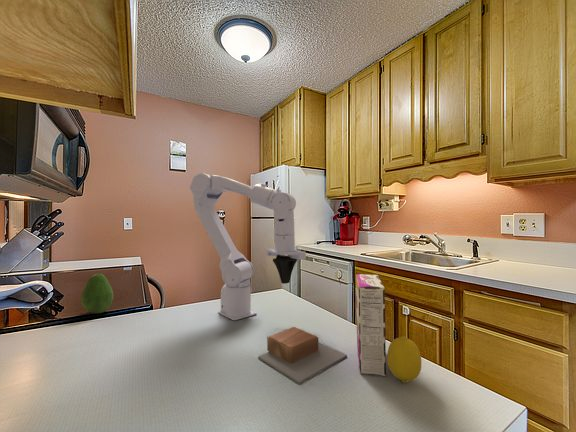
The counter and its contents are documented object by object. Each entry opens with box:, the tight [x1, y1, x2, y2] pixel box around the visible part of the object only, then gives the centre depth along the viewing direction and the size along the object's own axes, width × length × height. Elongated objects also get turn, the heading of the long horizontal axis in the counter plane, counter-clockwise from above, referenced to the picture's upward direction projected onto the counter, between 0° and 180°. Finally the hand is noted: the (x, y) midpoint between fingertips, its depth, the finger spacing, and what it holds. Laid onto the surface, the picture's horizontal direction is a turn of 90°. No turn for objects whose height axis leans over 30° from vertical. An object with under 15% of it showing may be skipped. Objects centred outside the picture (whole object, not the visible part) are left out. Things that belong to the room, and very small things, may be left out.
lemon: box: [386, 335, 422, 383], centre depth 48 cm, size 6×6×8 cm
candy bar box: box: [355, 273, 387, 377], centre depth 56 cm, size 11×5×16 cm, turn 168°
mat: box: [257, 341, 348, 385], centre depth 57 cm, size 12×14×1 cm
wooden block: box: [266, 326, 319, 364], centre depth 59 cm, size 3×8×8 cm
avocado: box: [80, 273, 114, 314], centre depth 84 cm, size 8×8×12 cm
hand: (285, 282), depth 78 cm, fingers closed
